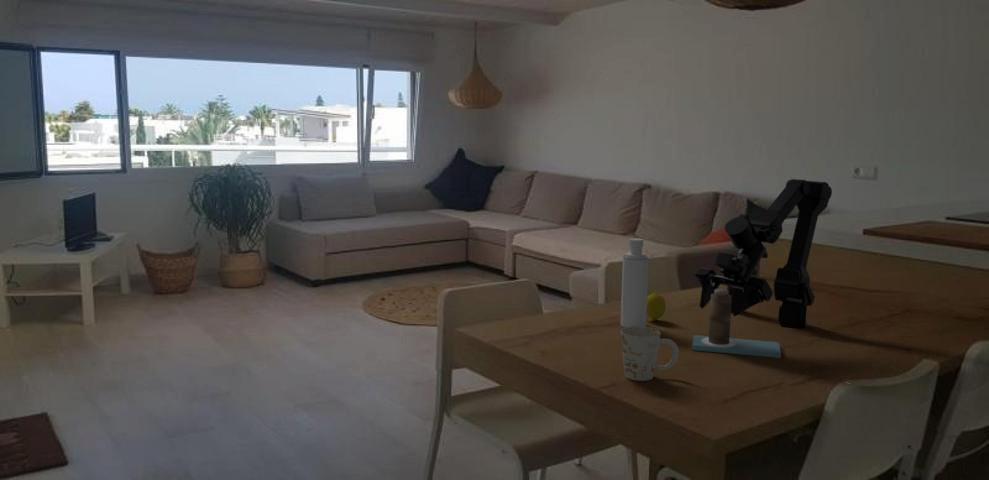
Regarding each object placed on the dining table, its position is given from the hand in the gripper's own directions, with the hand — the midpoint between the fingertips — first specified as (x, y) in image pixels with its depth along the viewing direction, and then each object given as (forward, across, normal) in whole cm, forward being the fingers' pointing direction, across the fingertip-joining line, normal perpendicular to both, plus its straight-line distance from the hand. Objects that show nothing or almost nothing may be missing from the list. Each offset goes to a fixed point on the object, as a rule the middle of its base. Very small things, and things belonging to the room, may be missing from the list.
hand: (717, 311), depth 180 cm
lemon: (0, -26, +13) cm, 29 cm away
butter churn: (-18, -19, +31) cm, 41 cm away
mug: (+27, +3, -14) cm, 30 cm away
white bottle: (+6, -26, +7) cm, 27 cm away
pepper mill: (+5, 0, +6) cm, 8 cm away
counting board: (+4, +3, +9) cm, 11 cm away
